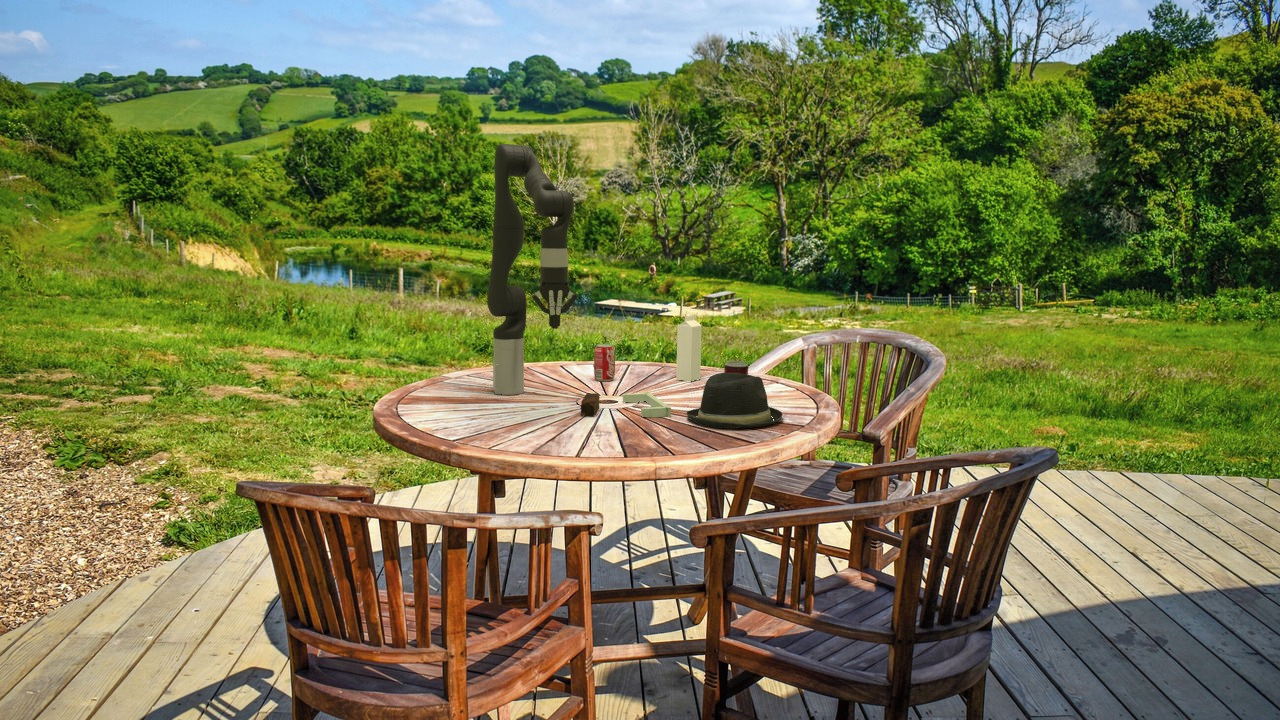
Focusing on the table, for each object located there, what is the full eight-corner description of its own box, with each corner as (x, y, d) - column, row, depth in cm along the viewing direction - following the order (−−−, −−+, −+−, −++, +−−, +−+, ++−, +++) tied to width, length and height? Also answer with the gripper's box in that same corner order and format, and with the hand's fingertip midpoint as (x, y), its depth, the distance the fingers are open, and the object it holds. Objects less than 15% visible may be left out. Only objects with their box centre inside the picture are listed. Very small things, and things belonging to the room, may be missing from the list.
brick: (586, 408, 247) (586, 392, 247) (599, 409, 247) (599, 393, 246) (580, 417, 237) (580, 400, 236) (594, 417, 237) (594, 401, 236)
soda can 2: (725, 404, 254) (726, 364, 252) (721, 399, 261) (723, 360, 259) (748, 405, 255) (750, 364, 253) (744, 400, 262) (746, 360, 260)
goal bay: (642, 417, 236) (642, 409, 236) (622, 402, 256) (622, 393, 256) (670, 416, 238) (671, 407, 238) (649, 400, 258) (649, 392, 258)
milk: (676, 380, 292) (676, 316, 288) (686, 378, 297) (687, 314, 293) (691, 382, 288) (692, 317, 285) (700, 380, 293) (702, 315, 289)
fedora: (801, 420, 237) (803, 376, 235) (736, 436, 218) (738, 388, 216) (733, 405, 255) (734, 364, 252) (667, 419, 236) (668, 374, 234)
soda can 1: (616, 378, 294) (616, 343, 292) (613, 382, 287) (613, 347, 285) (595, 378, 294) (595, 343, 292) (592, 381, 287) (592, 346, 285)
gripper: (575, 264, 239) (575, 326, 241) (527, 264, 235) (528, 327, 238) (581, 265, 231) (580, 329, 234) (532, 266, 228) (532, 330, 231)
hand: (554, 328), depth 236 cm, fingers closed
